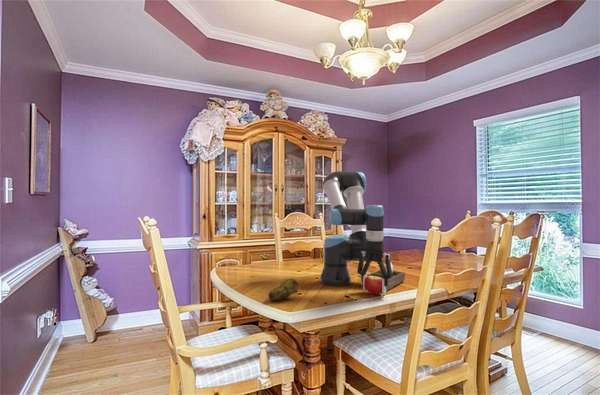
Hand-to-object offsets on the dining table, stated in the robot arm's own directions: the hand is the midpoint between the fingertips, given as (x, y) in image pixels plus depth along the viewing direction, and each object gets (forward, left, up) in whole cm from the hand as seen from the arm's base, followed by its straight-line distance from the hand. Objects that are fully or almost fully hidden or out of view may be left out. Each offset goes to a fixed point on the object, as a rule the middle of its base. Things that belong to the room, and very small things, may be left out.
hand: (374, 291), depth 143 cm
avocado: (-26, -31, -1) cm, 41 cm away
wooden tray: (-3, +18, -1) cm, 18 cm away
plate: (-3, +24, 0) cm, 24 cm away
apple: (0, 0, -1) cm, 1 cm away
